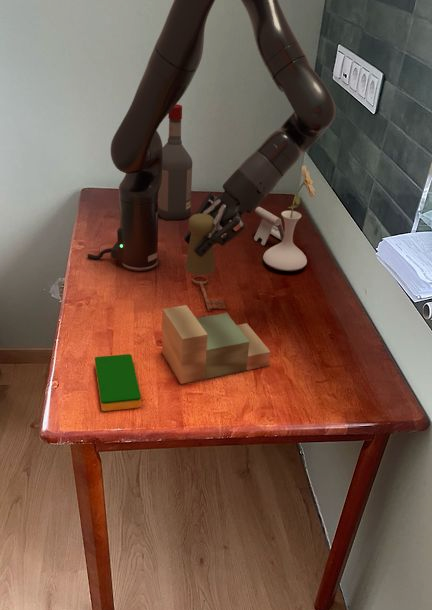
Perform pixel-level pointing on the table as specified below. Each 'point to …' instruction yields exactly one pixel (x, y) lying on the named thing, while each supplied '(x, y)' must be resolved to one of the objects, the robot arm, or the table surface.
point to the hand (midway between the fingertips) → (192, 247)
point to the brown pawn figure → (198, 229)
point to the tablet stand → (268, 226)
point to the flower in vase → (289, 236)
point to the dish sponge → (117, 382)
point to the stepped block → (209, 345)
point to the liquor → (175, 173)
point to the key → (214, 304)
